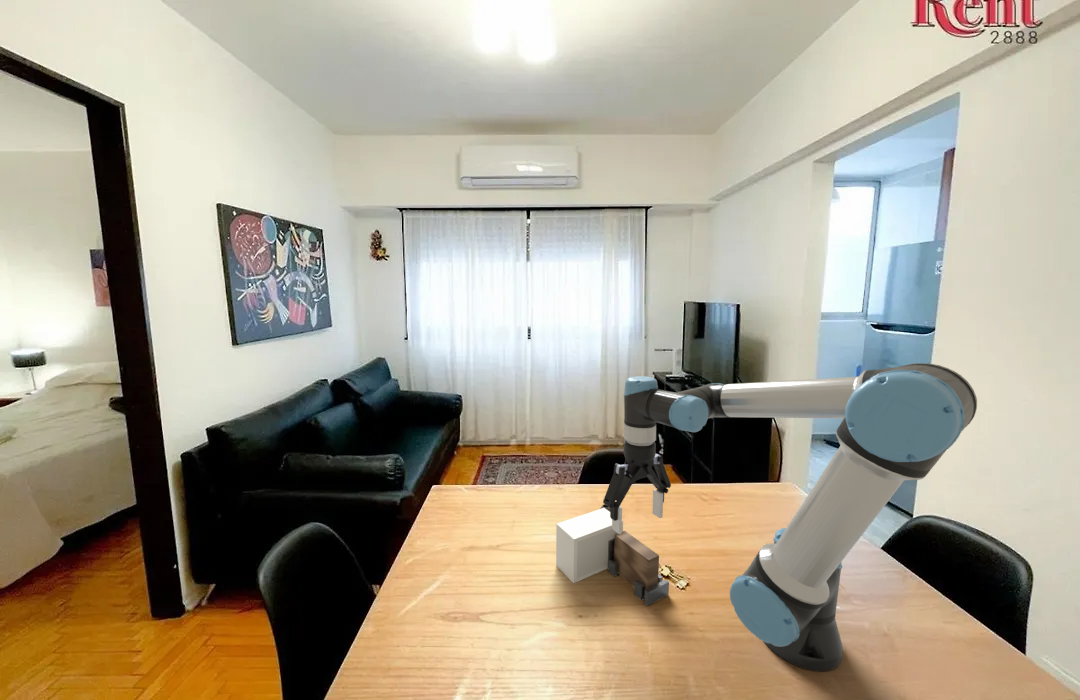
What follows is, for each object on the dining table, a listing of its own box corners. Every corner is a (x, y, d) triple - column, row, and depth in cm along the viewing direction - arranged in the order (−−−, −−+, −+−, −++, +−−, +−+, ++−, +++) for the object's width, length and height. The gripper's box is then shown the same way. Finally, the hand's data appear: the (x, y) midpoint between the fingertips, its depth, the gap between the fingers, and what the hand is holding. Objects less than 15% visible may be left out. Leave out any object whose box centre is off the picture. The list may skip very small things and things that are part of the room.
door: (657, 593, 101) (659, 555, 100) (646, 598, 99) (648, 560, 98) (623, 565, 111) (624, 530, 110) (613, 569, 110) (614, 534, 108)
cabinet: (622, 562, 112) (623, 521, 111) (573, 583, 104) (574, 539, 102) (602, 546, 119) (603, 507, 117) (556, 565, 111) (556, 523, 109)
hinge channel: (668, 594, 100) (670, 564, 99) (647, 606, 97) (648, 574, 96) (626, 560, 113) (627, 533, 112) (606, 569, 110) (606, 541, 108)
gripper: (664, 427, 110) (662, 503, 112) (588, 445, 97) (588, 530, 100) (687, 435, 103) (684, 515, 106) (609, 456, 91) (608, 546, 93)
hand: (637, 523), depth 103 cm, fingers open, 13 cm apart
